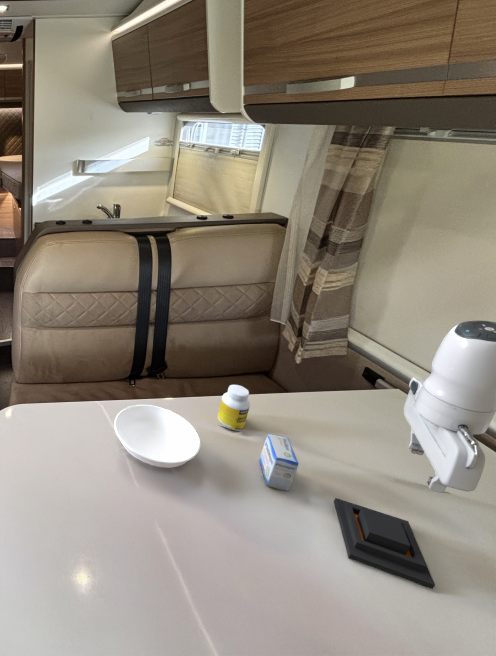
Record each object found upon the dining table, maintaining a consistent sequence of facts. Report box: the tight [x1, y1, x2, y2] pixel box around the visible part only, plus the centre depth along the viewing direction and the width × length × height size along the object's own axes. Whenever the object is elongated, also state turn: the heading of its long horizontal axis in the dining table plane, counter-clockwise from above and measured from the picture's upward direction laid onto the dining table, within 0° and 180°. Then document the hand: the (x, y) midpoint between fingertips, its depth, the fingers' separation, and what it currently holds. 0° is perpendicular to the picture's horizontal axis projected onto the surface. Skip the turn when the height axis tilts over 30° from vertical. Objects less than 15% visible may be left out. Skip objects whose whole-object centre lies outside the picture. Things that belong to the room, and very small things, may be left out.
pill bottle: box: [216, 384, 251, 434], centre depth 112 cm, size 6×6×12 cm
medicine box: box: [258, 433, 299, 492], centre depth 97 cm, size 8×4×9 cm, turn 161°
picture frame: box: [333, 497, 436, 590], centre depth 84 cm, size 12×14×3 cm
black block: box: [357, 508, 410, 555], centre depth 83 cm, size 6×6×3 cm
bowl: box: [113, 404, 201, 469], centre depth 105 cm, size 20×20×6 cm
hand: (424, 469), depth 79 cm, fingers open, 8 cm apart
